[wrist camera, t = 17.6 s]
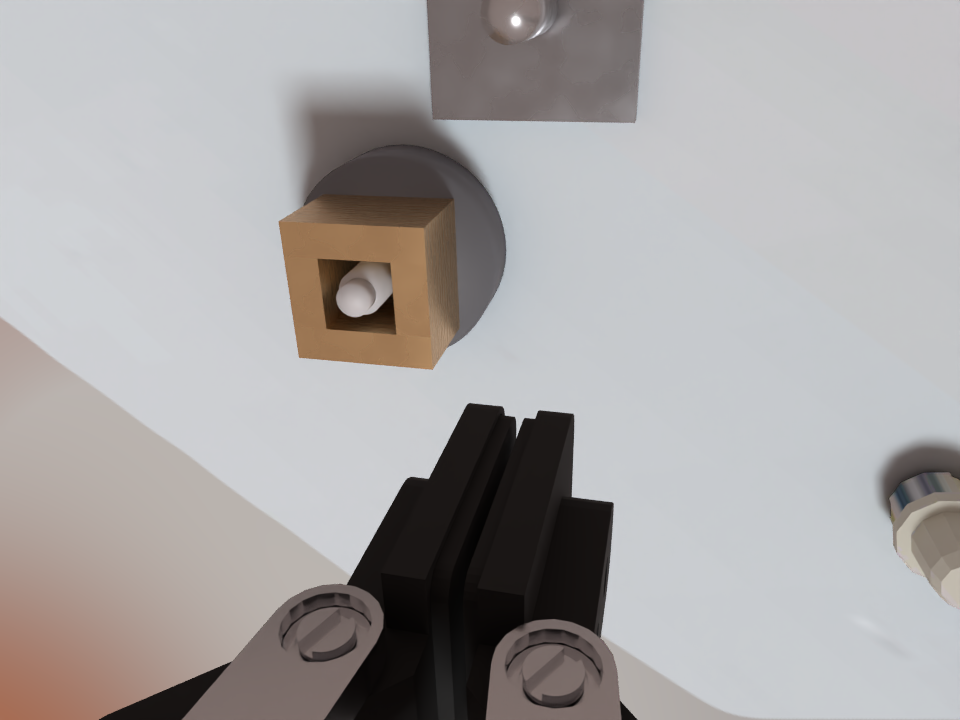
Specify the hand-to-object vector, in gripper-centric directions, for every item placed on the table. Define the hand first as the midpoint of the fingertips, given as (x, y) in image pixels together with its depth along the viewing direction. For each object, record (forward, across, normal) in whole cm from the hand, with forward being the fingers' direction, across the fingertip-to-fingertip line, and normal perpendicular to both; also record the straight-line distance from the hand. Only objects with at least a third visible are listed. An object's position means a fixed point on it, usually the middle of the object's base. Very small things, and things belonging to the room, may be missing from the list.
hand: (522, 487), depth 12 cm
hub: (+29, +12, +6) cm, 32 cm away
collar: (+26, +12, +6) cm, 29 cm away
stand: (+29, +5, -6) cm, 30 cm away
